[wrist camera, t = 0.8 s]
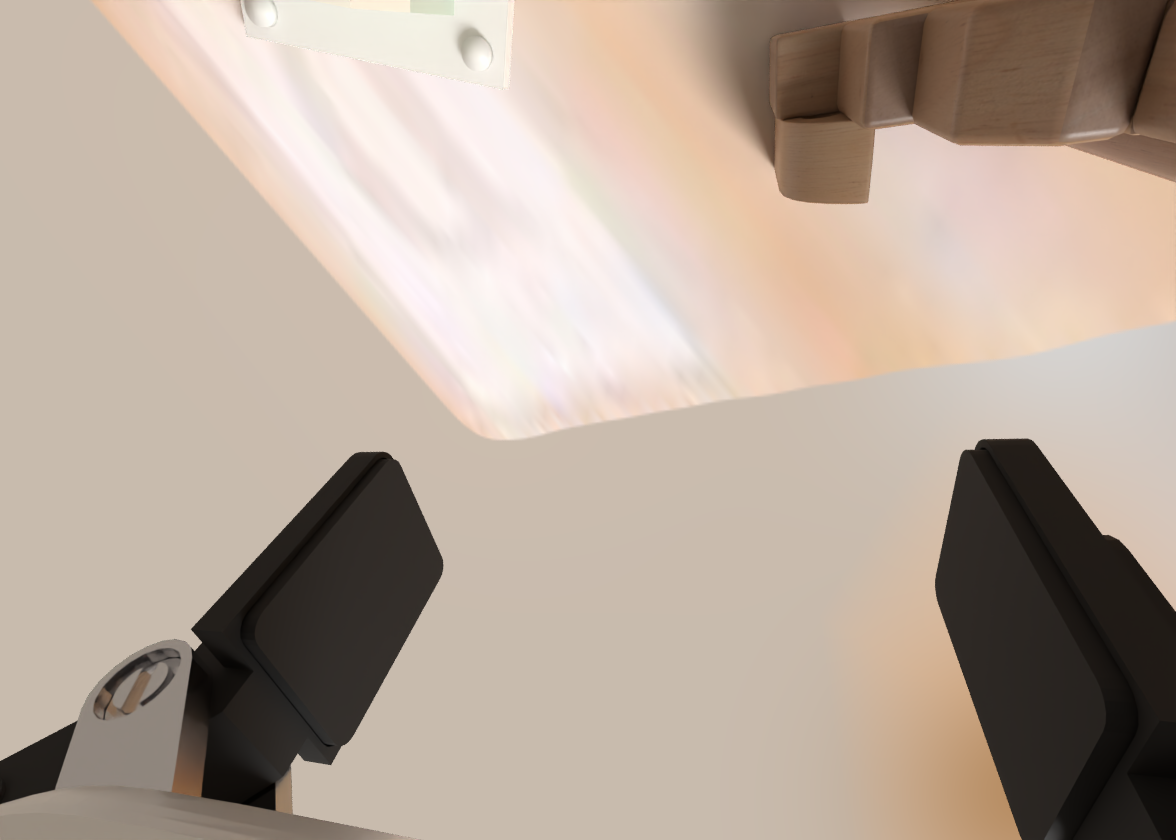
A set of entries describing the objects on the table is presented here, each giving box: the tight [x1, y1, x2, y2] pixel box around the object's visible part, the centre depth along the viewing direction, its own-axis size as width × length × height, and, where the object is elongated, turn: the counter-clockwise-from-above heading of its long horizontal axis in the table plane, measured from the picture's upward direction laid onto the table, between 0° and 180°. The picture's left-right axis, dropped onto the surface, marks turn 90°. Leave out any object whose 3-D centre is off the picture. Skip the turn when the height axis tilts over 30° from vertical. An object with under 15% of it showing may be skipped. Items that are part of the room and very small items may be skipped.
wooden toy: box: [769, 0, 1176, 204], centre depth 18 cm, size 16×7×25 cm, turn 100°
